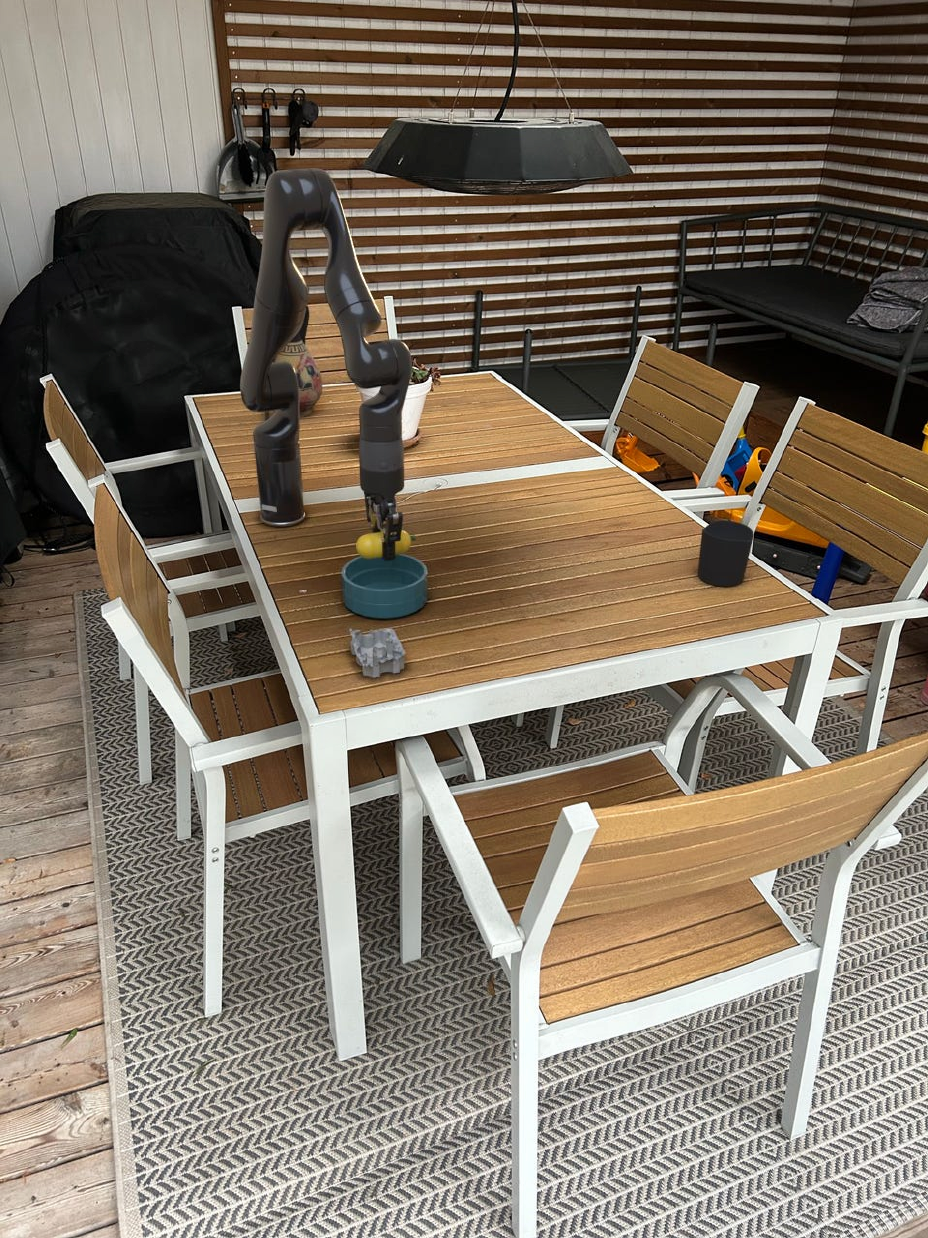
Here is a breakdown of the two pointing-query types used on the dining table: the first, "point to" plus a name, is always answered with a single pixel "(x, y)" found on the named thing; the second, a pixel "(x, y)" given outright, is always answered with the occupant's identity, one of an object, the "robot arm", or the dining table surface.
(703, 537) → the pen holder
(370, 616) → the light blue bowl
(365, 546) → the squash
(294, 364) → the ceramic jug
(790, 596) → the dining table surface
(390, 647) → the egg carton
